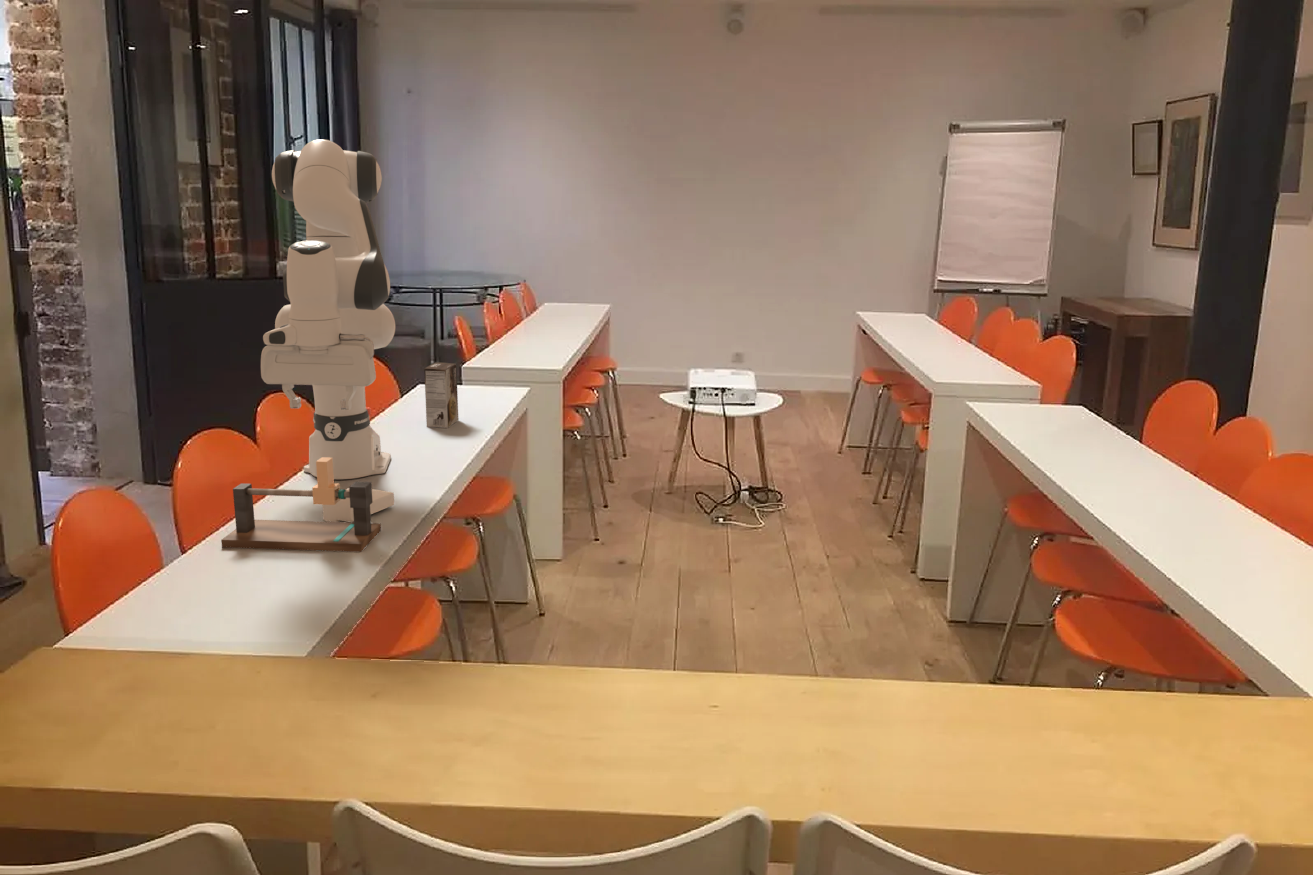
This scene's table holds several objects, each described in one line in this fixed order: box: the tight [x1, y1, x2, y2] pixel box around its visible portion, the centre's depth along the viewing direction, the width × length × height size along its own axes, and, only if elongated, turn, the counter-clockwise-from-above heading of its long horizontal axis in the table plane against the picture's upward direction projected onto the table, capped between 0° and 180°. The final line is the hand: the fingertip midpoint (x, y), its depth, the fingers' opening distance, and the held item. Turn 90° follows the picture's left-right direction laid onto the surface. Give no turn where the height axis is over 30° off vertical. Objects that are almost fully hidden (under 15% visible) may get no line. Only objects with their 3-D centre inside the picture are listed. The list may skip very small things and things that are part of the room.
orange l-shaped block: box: [311, 457, 341, 506], centre depth 204 cm, size 3×4×8 cm
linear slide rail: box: [221, 481, 382, 553], centre depth 206 cm, size 12×26×11 cm, turn 86°
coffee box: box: [423, 361, 460, 429], centre depth 298 cm, size 9×6×16 cm
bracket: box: [322, 487, 395, 523], centre depth 222 cm, size 13×7×8 cm, turn 154°
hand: (321, 408), depth 201 cm, fingers open, 8 cm apart
